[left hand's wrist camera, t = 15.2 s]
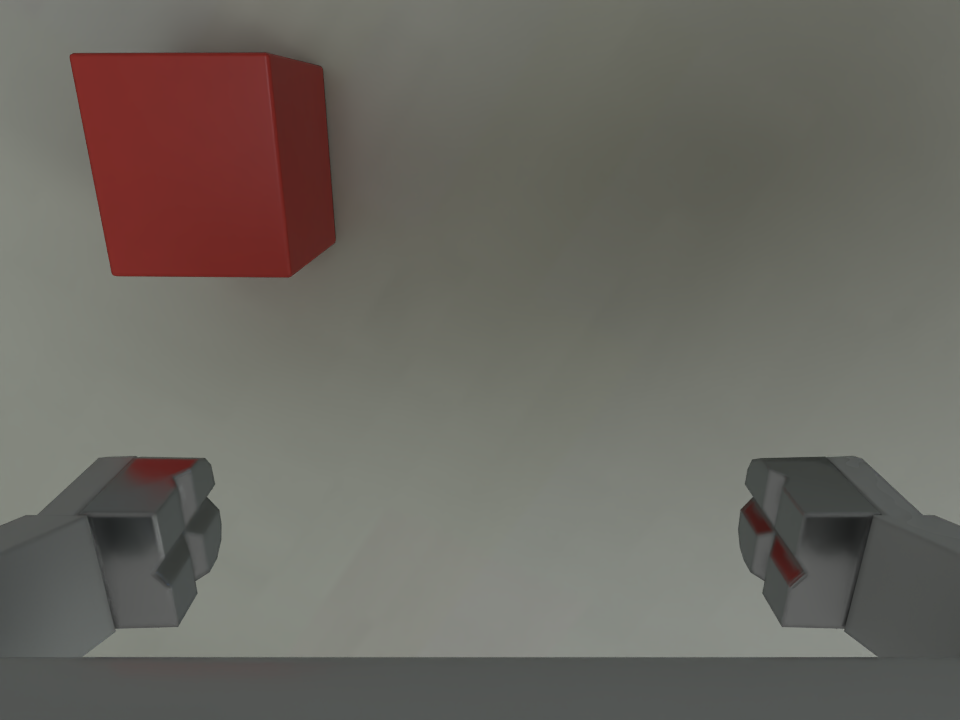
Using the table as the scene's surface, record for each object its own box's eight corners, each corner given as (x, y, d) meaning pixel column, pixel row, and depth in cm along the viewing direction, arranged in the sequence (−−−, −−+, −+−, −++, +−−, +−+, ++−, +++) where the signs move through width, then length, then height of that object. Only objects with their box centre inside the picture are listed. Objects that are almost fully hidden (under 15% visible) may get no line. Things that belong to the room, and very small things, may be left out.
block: (167, 66, 20) (66, 52, 15) (323, 66, 20) (268, 52, 15) (193, 242, 22) (110, 277, 17) (336, 243, 21) (291, 278, 17)
